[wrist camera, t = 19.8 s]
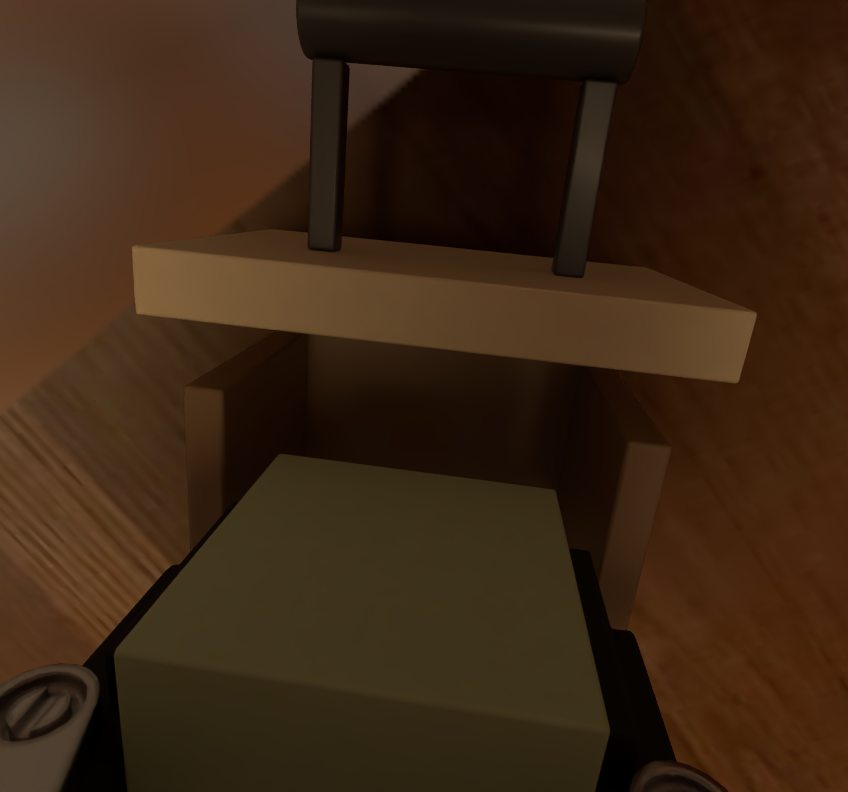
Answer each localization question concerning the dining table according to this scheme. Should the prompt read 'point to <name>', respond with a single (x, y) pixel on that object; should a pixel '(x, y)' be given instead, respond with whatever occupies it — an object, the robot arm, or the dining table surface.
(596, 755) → the block
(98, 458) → the dining table surface
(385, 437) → the drawer
